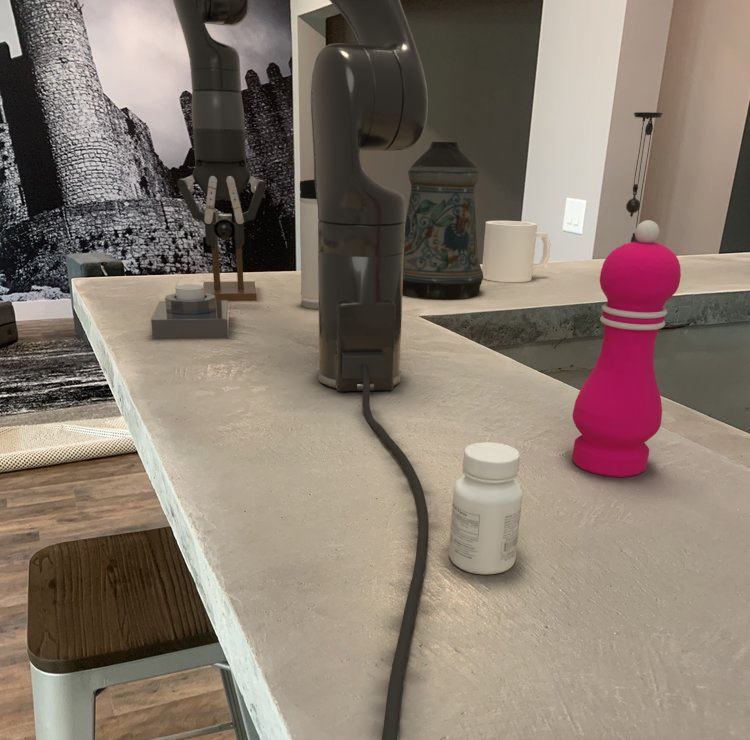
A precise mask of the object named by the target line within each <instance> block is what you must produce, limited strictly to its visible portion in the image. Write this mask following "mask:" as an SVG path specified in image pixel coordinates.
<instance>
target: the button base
mask: <svg viewBox="0 0 750 740" xmlns="http://www.w3.org/2000/svg"><path fill="white" fill-rule="evenodd" d="M229 314H230V313H229V301H228V300H225V301H216V295H213V294H210V293H205V298H203V299H196V300H182V299H176V292H175V293H171V294H167V295H165V297H164V300H159V301H158V304H157V306H156V308H155V310H154V312H153V315H152V317H151V319H150V323H151V333H152V335H151V336H152V340H190V339H191V340H198V339H199V340H201V339H202V340H203V339H204V340H207V339H229V327H230V319H229V318H230V315H229Z"/></svg>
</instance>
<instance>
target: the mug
mask: <svg viewBox="0 0 750 740" xmlns="http://www.w3.org/2000/svg"><path fill="white" fill-rule="evenodd" d="M484 227H485V228H484V239H483V252H482V264H481V269H482V272H483V279H484V280H486V281H491V282H500V283H526V282H530V281H532V279H533V270H545V269H546V267H547V265H548V262H549V260H550V257H551V245H552V244H551V241H550V239H549V234H548V233H547V232H543V231H540V232H539V231H538V223H536V222H531V221H521V220H487V221H485V226H484ZM537 238H541V240H542V241H541V242H542V244H543V245H542V256H541V258H540V261H539V263H534V258H535V251H536V250H535V249H536V242H537V241H536V240H537ZM483 279H482V280H483Z"/></svg>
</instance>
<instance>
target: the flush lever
mask: <svg viewBox="0 0 750 740" xmlns="http://www.w3.org/2000/svg"><path fill="white" fill-rule="evenodd" d="M217 216H218V217H217V222H216V223H215V226H214V231H215V234H216V235H217V237H218V239H220V240H222V241H229V240H231V239H232V238H233V237H235V225H234V222H233V215H232V213H218V215H217Z"/></svg>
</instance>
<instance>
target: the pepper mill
mask: <svg viewBox="0 0 750 740" xmlns="http://www.w3.org/2000/svg"><path fill="white" fill-rule="evenodd" d="M634 233H635V237H636V240H637V242H631V241H630V242H627V243H624V244H621V245H620V246H617V247H616V248H615V249H612V251H611V252H610V253H609V254H608V255H607V257H606V258H605V259H604V261H603V262H602V263H603V264H602V267H601V270H600V274H599V284H600V289H601V291H602V292H603V294H604V296H605V298H606V301H607V302H605V303H603V304H602V305H601V310H602V311H601V312H602V313H601V316H600V317H599V321H600V323H602V324H603V325H604V329H603V340H602V345H601V348H600V353H599V356H598V358H597V361H596V363H595V366H594V367H593V369H592V371H591V373H590V374H589V375H588V377H587V379H586V380H585V382H584V383H583V385H582V387H581V388H580V390H579V392H578V394H577V395H576V396H577V397H576V399H575V401H574V405H573V409H572V421H573V424H574V425H575V428H576V430H578V431H579V433H580V435H578V437H576V438H575V439H574V444H573V450H572V455H571V457H572V461H573V463H574V464H575V465H576V466H577V467H579V468H580V469H582V470H584V471H587V472H590V473H593V474H594V475H595V474H596V475H600V476H604V477H613V478H625V477H634V476H638V475H640V474H643V472H644V471H645V470H647V467H648V461H649V455H650V448H649V446H648V445H647V444H646V443H647V442H648V440H651V438H653V437H654V436H655V435H656V434H657V432H658V431H659V430H660V428H661V425H662V416H663V406H662V405H663V404H662V397H661V394H660V391H659V390H660V389H659V385H658V383H657V379H656V373H655V363H654V355H655V344H656V340H657V336H658V333H659V330H661V329H662V328H664V327H665V326H666V321H665V319H666V317H665V316H667V314H668V310H667V308H665V307H664V306H665V304H666V303H667V302H668V300H669V299H671V298H672V297H673V296H674V295H675V294H676V292H677V291H678V289H679V286H680V283H681V278H682V277H681V276H682V273H681V272H682V271H681V264H680V261H679V258H678V256H677V255H676V254H675V253H674V252H673V251H672V249H670V248H669V247H667V246H665V245H663V244H661V243H657V242H656V241H657V239H658V238H659V235H660V227H659V225H658V224H657V222H655V221H653V220H649V219H646V220H644V221H641V222H640V223H639V224H637V228H636V227H635V231H634Z"/></svg>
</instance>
